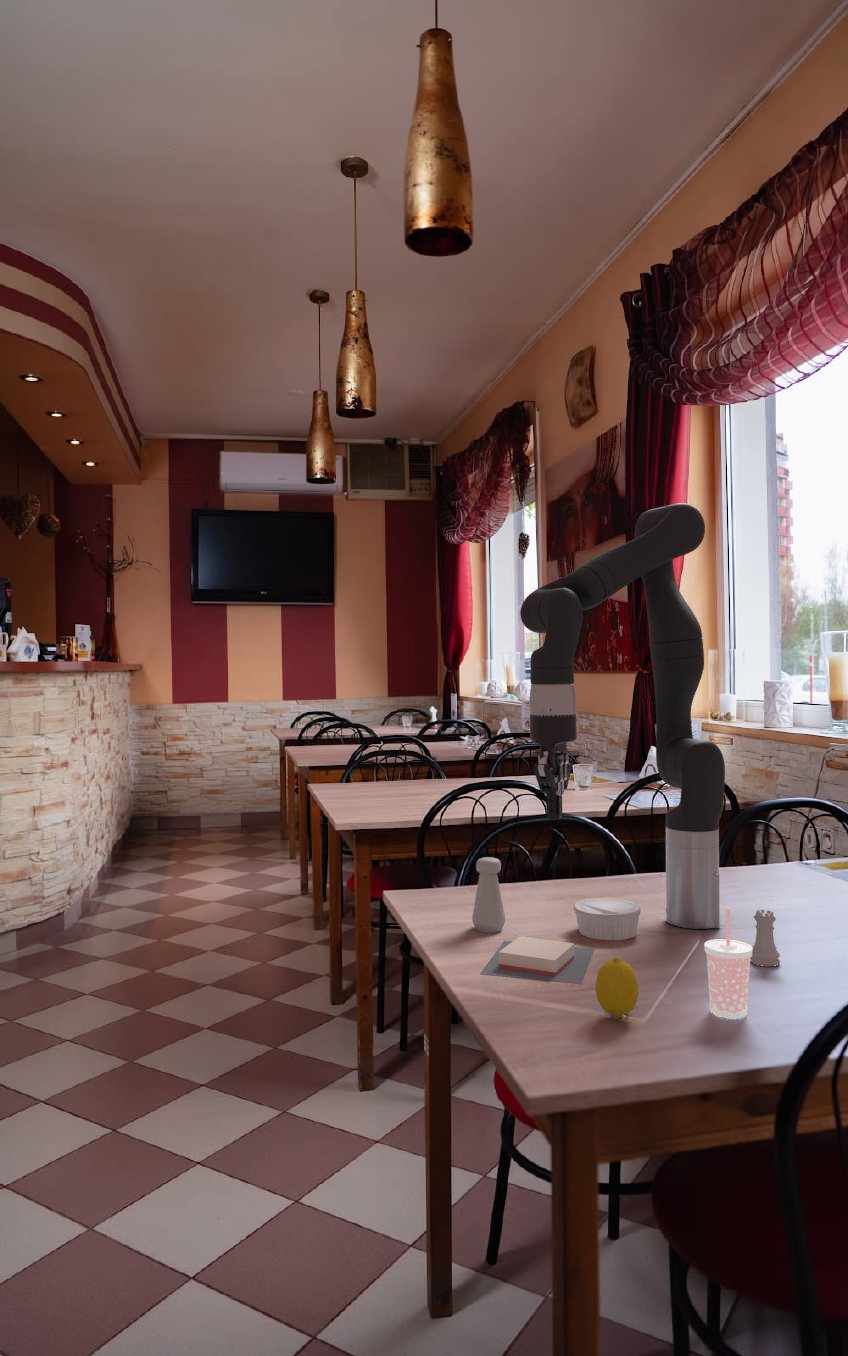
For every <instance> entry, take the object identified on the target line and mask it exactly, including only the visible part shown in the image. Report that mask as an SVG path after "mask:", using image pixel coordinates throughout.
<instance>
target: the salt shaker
mask: <svg viewBox="0 0 848 1356" xmlns="http://www.w3.org/2000/svg"><path fill="white" fill-rule="evenodd" d="M501 867H502V863H501V860H500V859H498V858H496V857H492V856H490V857H489V856H486V857H484V856H483V857H482V858H479V859H478V860H477V861H476V864H475V869H476V872H478V873H479V875H478V881H477V886H476V887H477V888H476V893H475V899H474V900H475V901H474V904H473V905H474V906H473V912H472V917H471V918H472V919H471V920H472V923H473V926H474V929H475V930H476V931H478V932H480V933H484V934H495V933H498V932H502V930H503V928H504V926H505V923H506V914H505V913H506V912H505V908H504V905H503V899H502V894H501V893H502V892H501V888H500V884H499V878H498V877H499V876H498V873H500V872H501V869H502V868H501Z"/></svg>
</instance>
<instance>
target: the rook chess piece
mask: <svg viewBox="0 0 848 1356" xmlns="http://www.w3.org/2000/svg"><path fill="white" fill-rule="evenodd" d="M753 918H754V920H755V921H756V925H755V926H754V927H755V929H756V935H755V942H754V944H753V946H752V948H753V951H752V956H751V957H750V962H751V963H752V962H753V963H755V964H758V965H763V966H774V965H777V964H778V965H780V963H781V960H780V959H779V958H780V957H781V954H780V952H779V951H778V948H777V947H776V944H775V938H774V930H775V927H774V926H773V925H774V922H775V921H776V920H777V918H776V917H775V915H774V911H771V910H769V909H767V910H766V912H765V909H757V910H756V911H755V914H754V915H753ZM753 963H752V964H753ZM755 964H754V965H755ZM758 965H757V966H758ZM763 966H762V967H763Z"/></svg>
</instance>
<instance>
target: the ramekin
mask: <svg viewBox="0 0 848 1356" xmlns="http://www.w3.org/2000/svg"><path fill="white" fill-rule="evenodd" d="M573 910H574V913H575V917H576V921H577V927H578V931H579V933H580V934H581V935H583V936H585V937H586V938H590V939H593V940H600V941H601V940H602V941H624V940H629V939H632V938H633V937H635V936H636V934H637V932H638V926H639V919H640V915H641V906H640V905H639V904H638V903H636V902H633V901H630V900H626V899H621V898H615V897H593V898H586V899H582V900H578V901H577V902H575V904H574V906H573Z"/></svg>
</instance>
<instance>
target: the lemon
mask: <svg viewBox="0 0 848 1356" xmlns="http://www.w3.org/2000/svg"><path fill="white" fill-rule="evenodd" d="M639 991H640V988H639V981H638V977H637V974H636V972H635V969H634V967H632V966H631V964H629V963H627V962H626V961H624V960H622V959H620V957H614V958H613V959H611V960H608V961H606V962H605V963H603V964H602V966H601V967H600V968H599V970H598V971H597V975H596V979H595V995H596V998H597V1002H598V1003H599V1005H600V1006H601V1008H602V1009H603V1010H604V1011H605V1012H607V1013H608V1014H610V1015H612V1017H613V1018H615V1019H617V1020H619V1019H621V1018H622V1016H623V1015H627V1014H629V1013H631V1011H632V1010H633V1009H634V1008H635V1006H637V1005H636V1004H637V1002H638V998H639V996H640V995H639V993H640V992H639Z"/></svg>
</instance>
